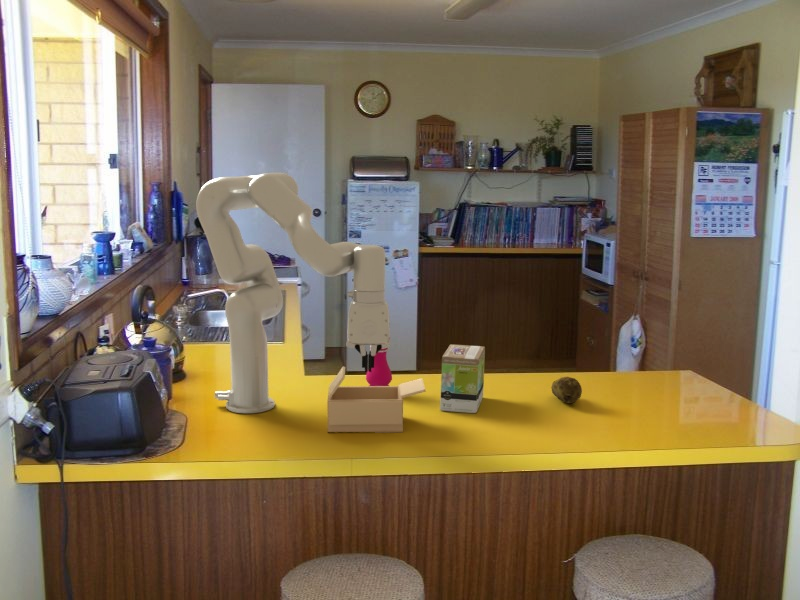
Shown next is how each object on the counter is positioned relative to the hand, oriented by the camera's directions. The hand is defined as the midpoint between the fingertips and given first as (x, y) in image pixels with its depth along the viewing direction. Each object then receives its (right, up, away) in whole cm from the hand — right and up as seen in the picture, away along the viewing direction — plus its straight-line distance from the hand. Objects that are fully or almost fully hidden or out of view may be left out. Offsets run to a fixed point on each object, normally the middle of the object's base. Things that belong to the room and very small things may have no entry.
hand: (368, 370), depth 206 cm
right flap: (+8, -5, +1) cm, 9 cm away
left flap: (-9, -5, 0) cm, 11 cm away
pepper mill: (+2, -9, +29) cm, 30 cm away
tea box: (+24, -11, +19) cm, 33 cm away
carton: (-1, -13, +2) cm, 14 cm away
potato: (+52, -11, +21) cm, 57 cm away
